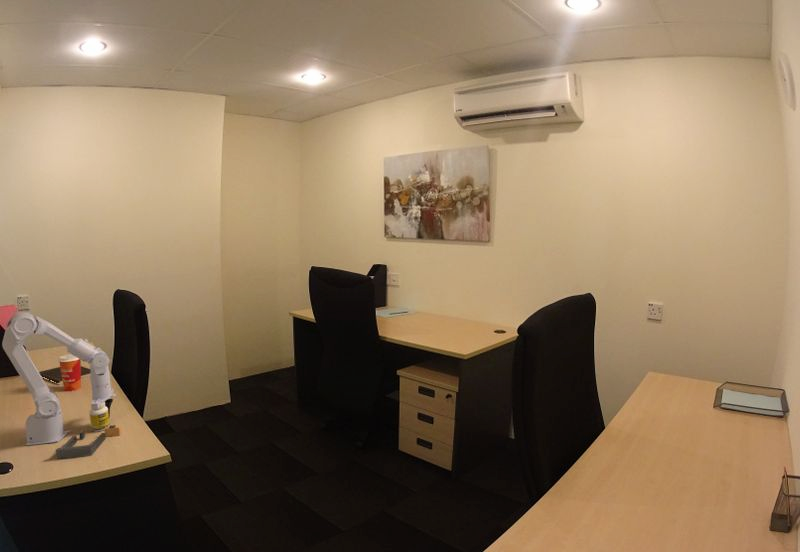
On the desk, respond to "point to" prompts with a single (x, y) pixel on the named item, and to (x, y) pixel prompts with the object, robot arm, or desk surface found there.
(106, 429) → the block
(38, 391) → the robot arm
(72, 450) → the rail clip
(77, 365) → the coffee cup
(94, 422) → the supplement bottle
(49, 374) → the hardcover book
